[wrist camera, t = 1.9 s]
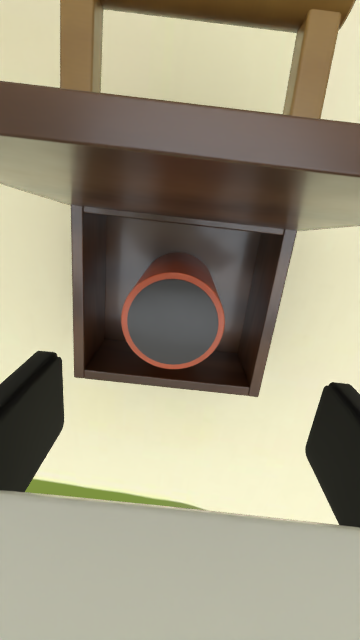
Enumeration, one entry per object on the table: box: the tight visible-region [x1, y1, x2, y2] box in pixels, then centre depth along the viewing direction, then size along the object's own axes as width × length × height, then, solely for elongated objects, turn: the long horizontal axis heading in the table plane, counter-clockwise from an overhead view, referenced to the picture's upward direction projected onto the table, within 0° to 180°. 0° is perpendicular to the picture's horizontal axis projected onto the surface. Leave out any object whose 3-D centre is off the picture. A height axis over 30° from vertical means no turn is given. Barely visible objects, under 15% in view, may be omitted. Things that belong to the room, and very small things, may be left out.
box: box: [71, 205, 297, 397], centre depth 24 cm, size 13×15×7 cm
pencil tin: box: [121, 252, 225, 369], centre depth 22 cm, size 6×6×9 cm
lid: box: [0, 0, 360, 231], centre depth 11 cm, size 14×15×5 cm
